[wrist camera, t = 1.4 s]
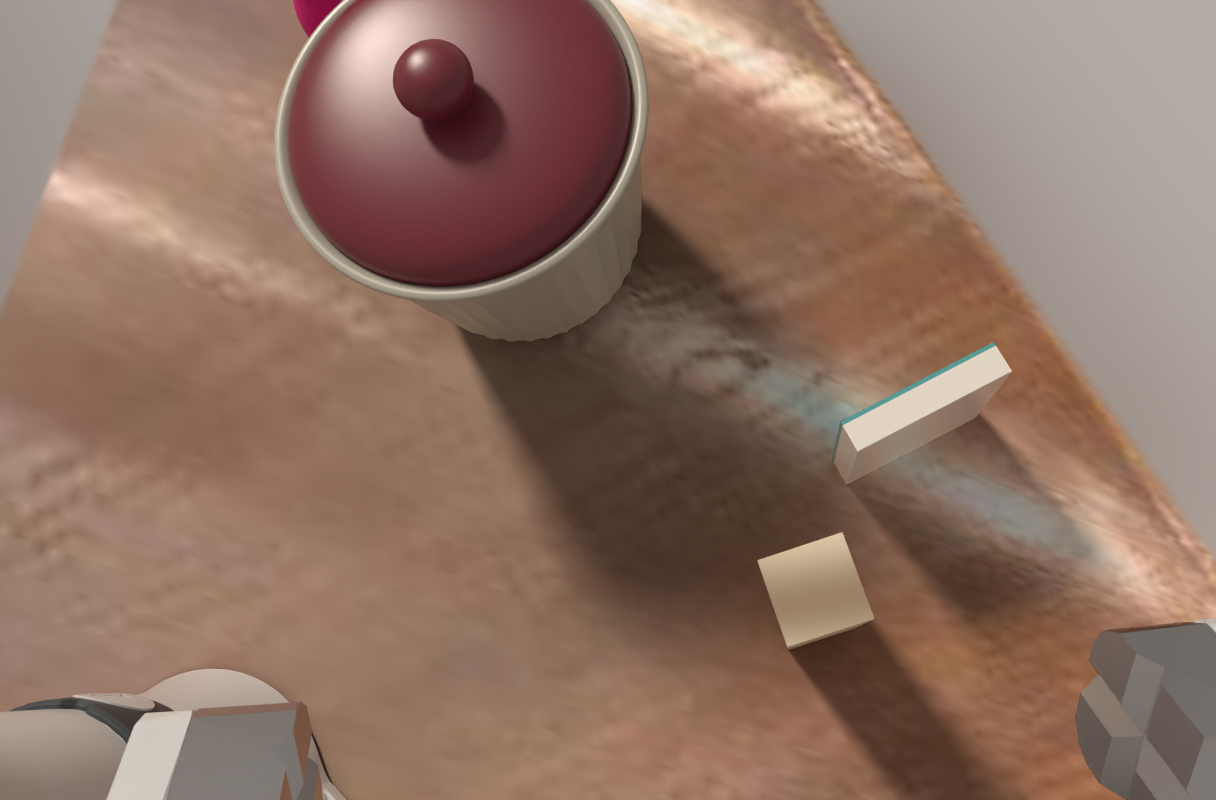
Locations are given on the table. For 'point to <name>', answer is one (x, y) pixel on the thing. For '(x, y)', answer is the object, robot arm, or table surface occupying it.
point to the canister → (470, 156)
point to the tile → (918, 413)
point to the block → (815, 591)
